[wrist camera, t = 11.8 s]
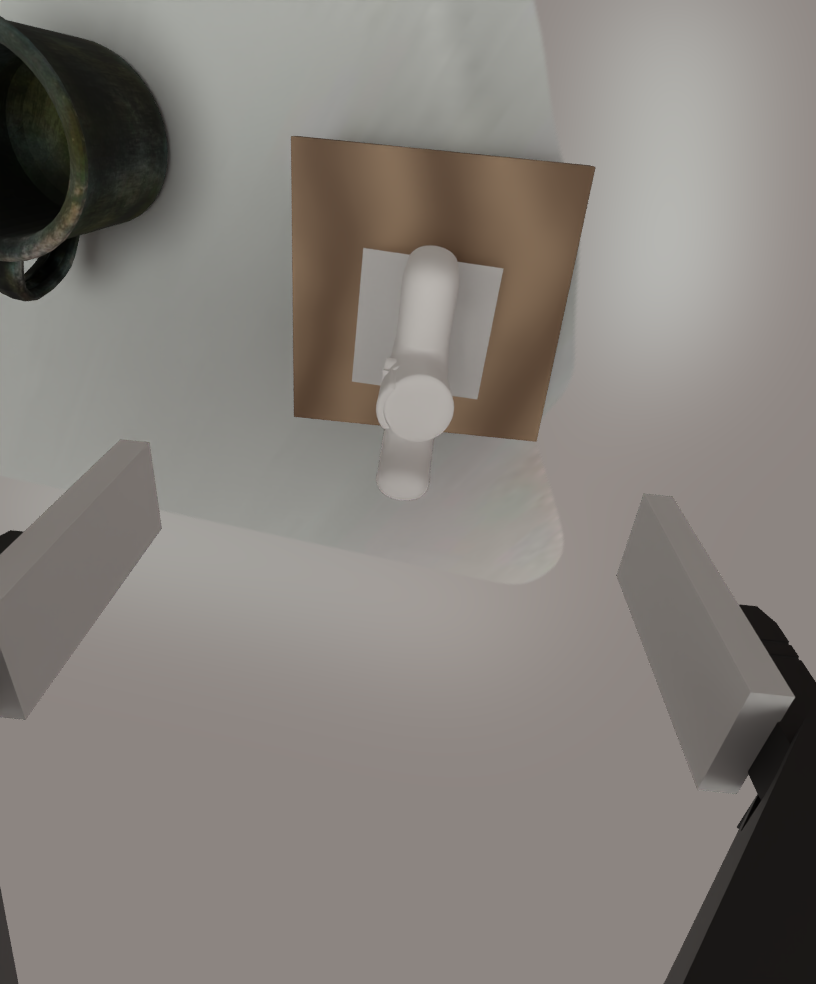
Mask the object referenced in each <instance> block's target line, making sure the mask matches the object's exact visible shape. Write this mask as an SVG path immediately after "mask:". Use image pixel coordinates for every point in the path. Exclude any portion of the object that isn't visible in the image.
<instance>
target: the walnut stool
mask: <svg viewBox="0 0 816 984" xmlns="http://www.w3.org/2000/svg"><path fill="white" fill-rule="evenodd" d="M594 172H595V167H594V166H590V165H580V164H570V163H560V162H550V161H540V160H530V159H520V158H510V157H500V156H490V155H480V154H470V153H460V152H451V151H441V150H431V149H421V148H411V147H401V146H391V145H381V144H371V143H361V142H351V141H341V140H331V139H321V138H311V137H301V136H291V177H292V272H293V367H294V417H302V418H312V419H322V420H331V421H341V422H351V423H361V424H370V425H380V423H379V421H378V418H377V414H376V404H377V399H378V395H379V390H380V385H373V384H366V383H359V382H352V374H353V362H354V351H355V339H356V327H357V316H358V304H359V293H360V281H361V269H362V258H363V248H367V249H374V250H381V251H388V252H395V253H401V254H408V255H410V254H411V253H412V252H413V251H414V250H415V249H417V248H419V247H422V246H430V245H431V246H439V247H442V248H445V249H447V250H449V251H450V252H452V253H453V254H454V256H455V257H456V259H457V262H463V263H469V264H476V265H483V266H490V267H497V268H503V273H502V278H501V283H500V288H499V293H498V298H497V303H496V308H495V313H494V318H493V323H492V328H491V333H490V338H489V343H488V348H487V353H486V358H485V363H484V368H483V373H482V378H481V383H480V388H479V393H478V398H477V399H470V398H464V397H457V396H452V397H453V401H454V413H453V417H452V420H451V422H450V424H449V425H448V427H447V428H446V429H445V430H444V431H443V432H448V433H458V434H468V435H477V436H487V437H497V438H506V439H516V440H526V441H537V436H538V432H539V427H540V422H541V418H542V413H543V409H544V404H545V399H546V395H547V390H548V385H549V381H550V376H551V371H552V367H553V362H554V357H555V353H556V348H557V343H558V339H559V334H560V330H561V325H562V320H563V316H564V311H565V306H566V302H567V297H568V292H569V288H570V283H571V278H572V274H573V269H574V265H575V260H576V255H577V251H578V246H579V241H580V237H581V232H582V227H583V223H584V218H585V213H586V209H587V204H588V199H589V194H590V190H591V185H592V181H593V176H594ZM380 426H381V425H380Z"/></svg>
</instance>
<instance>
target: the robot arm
mask: <svg viewBox="0 0 816 984" xmlns="http://www.w3.org/2000/svg"><path fill="white" fill-rule="evenodd" d="M161 529H162V528H161V520H160V513H159V506H158V499H157V492H156V485H155V478H154V471H153V464H152V457H151V450H150V443H149V442H141V441H131V440H122V439H120V440H119V441H118V442H117V443H116V444H115V445H114V446H113V447H112V448H111V449H110V450H109V451H108V452H107V453H106V454H105V455H104V456H103V457H102V458H101V459H100V460H98V461H97V462H96V463H95V464H94V465H93V466H92V467H91V468H90V469H89V470H88V471H87V472H86V473H85V474H84V475H83V476H82V477H81V478H80V479H79V480H78V481H77V482H75V483H74V484H73V485H72V486H71V487H70V488H69V489H68V490H67V491H66V492H65V493H64V494H63V495H62V496H61V497H60V498H59V499H58V500H57V501H56V502H55V503H54V504H53V505H51V506H50V507H49V508H48V509H47V511H45V512H44V513H43V514H42V515H41V516H40V517H39V518H38V519H37V520H36V521H35V522H34V523H33V524H32V525H31V526H30V527H29V528H28V529H26V530H25V531H24V532H22V531H11V530H10V531H8V532H6V533H5V534H3V535H1V536H0V717H4V718H14V719H23V720H25V719H26V718H27V717H28V715H29V714H30V713H31V711H32V710H33V709H34V707H35V706H36V704H37V703H38V702H39V700H40V699H41V697H42V696H43V695H44V693H45V692H46V690H47V689H48V688H49V686H50V685H51V683H52V682H53V680H54V679H55V678H56V676H57V675H58V673H59V672H60V671H61V669H62V668H63V666H64V665H65V664H66V662H67V661H68V659H69V658H70V657H71V655H72V654H73V652H74V651H75V650H76V648H77V647H78V645H79V644H80V642H81V641H82V639H83V638H84V637H85V635H86V634H87V633H88V631H89V630H90V628H91V627H92V626H93V624H94V623H95V621H96V620H97V619H98V617H99V616H100V614H101V613H102V612H103V610H104V609H105V607H106V606H107V605H108V603H109V601H110V600H111V599H112V597H113V596H114V595H115V593H116V592H117V590H118V589H119V588H120V586H121V584H122V583H123V582H124V581H125V579H126V577H127V576H128V575H129V573H130V572H131V571H132V569H133V568H134V566H135V565H136V564H137V562H138V561H139V559H140V558H141V557H142V555H143V554H144V552H145V551H146V550H147V548H148V547H149V545H150V544H151V543H152V541H153V540H154V538H155V537H156V536H157V534H158V533H159V531H160V530H161ZM616 576H617V578H618V581H619V584H620V586H621V589H622V592H623V594H624V597H625V600H626V602H627V605H628V607H629V610H630V613H631V615H632V618H633V621H634V623H635V626H636V629H637V631H638V634H639V636H640V639H641V642H642V645H643V647H644V650H645V652H646V655H647V658H648V660H649V663H650V666H651V668H652V671H653V673H654V676H655V679H656V682H657V684H658V686H659V689H660V692H661V695H662V697H663V700H664V703H665V705H666V708H667V711H668V713H669V716H670V719H671V721H672V724H673V727H674V729H675V731H676V734H677V737H678V739H679V742H680V745H681V748H682V750H683V753H684V756H685V758H686V761H687V763H688V766H689V769H690V771H691V774H692V777H693V779H694V782H695V785H696V787H697V790H703V791H713V792H723V793H732V794H737V793H738V791H739V789H740V788H741V786H742V784H743V783H744V781H745V779H746V778H747V776H748V774H749V776H750V778H751V780H752V782H753V785H754V787H755V789H756V791H757V793H758V794H757V796H756V798H755V799H754V801H753V802H752V804H751V805H750V807H749V809H748V810H747V812H746V813H745V815H744V816H743V818H742V820H741V821H740V823H739V824H738V826H737V828H739V830H738V833H737V835H736V837H735V839H734V841H733V843H732V845H731V847H730V849H729V851H728V853H727V855H726V857H725V859H724V861H723V863H722V865H721V867H720V870H719V872H718V874H717V876H716V878H715V880H714V882H713V884H712V886H711V888H710V890H709V892H708V894H707V896H706V898H705V900H704V902H703V904H702V907H701V909H700V911H699V913H698V915H697V917H696V919H695V921H694V923H693V925H692V927H691V929H690V931H689V933H688V935H687V937H686V939H685V941H684V943H683V946H682V948H681V950H680V952H679V954H678V956H677V958H676V960H675V962H674V964H673V966H672V968H671V970H670V972H669V974H668V976H667V979H666V981H665V983H664V984H816V682H815V680H814V679H813V677H812V676H811V675H810V673H809V671H808V670H807V668H806V667H805V665H804V664H803V662H802V661H801V660H799V659H798V657H799V656H798V655H797V653H796V652H795V650H794V649H793V647H792V646H791V645H789V644H788V643H789V641H788V640H787V638H786V637H785V635H784V634H783V632H782V631H781V629H780V628H779V626H778V625H777V623H776V622H775V621H773V620H772V619H771V618H770V617H769V616H767V615H766V614H765V613H764V612H763V611H762V610H760V609H759V608H758V607H756V606H748V605H739V604H738V603H737V601H736V600H735V598H734V596H733V595H732V593H731V591H730V590H729V588H728V586H727V585H726V583H725V582H724V580H723V578H722V577H721V575H720V573H719V572H718V570H717V568H716V567H715V565H714V564H713V562H712V561H711V559H710V557H709V555H708V554H707V552H706V550H705V549H704V547H703V546H702V544H701V542H700V541H699V539H698V537H697V536H696V534H695V532H694V531H693V529H692V527H691V526H690V524H689V523H688V521H687V519H686V518H685V516H684V514H683V513H682V511H681V509H680V508H679V506H678V505H677V503H676V501H675V500H674V498H673V497H672V496H661V495H652V494H643V497H642V500H641V503H640V507H639V510H638V513H637V515H636V519H635V521H634V524H633V527H632V530H631V534H630V536H629V539H628V542H627V546H626V549H625V551H624V554H623V557H622V560H621V563H620V566H619V569H618V572H617V575H616ZM0 984H18V979H17V974H16V968H15V963H14V958H13V953H12V947H11V942H10V937H9V931H8V926H7V921H6V916H5V910H4V905H3V900H2V894H1V889H0Z"/></svg>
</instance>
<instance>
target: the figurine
mask: <svg viewBox="0 0 816 984" xmlns="http://www.w3.org/2000/svg"><path fill="white" fill-rule="evenodd" d="M502 273H503V268H497V267H490V266H483V265H476V264H469V263H463V262H457V259H456V257H455V256H454V254H453V253H452V252H450V251H449V250H447V249H445V248H442V247H439V246H431V245H430V246H422V247H419V248H417V249H415V250H414V251H413V252H412V253H411V254H410V255H408V254H401V253H395V252H388V251H381V250H374V249H367V248H363V258H362V269H361V281H360V293H359V304H358V316H357V327H356V339H355V351H354V362H353V374H352V382H359V383H366V384H373V385H380V390H379V395H378V399H377V404H376V414H377V418H378V421H379V423H380V425H381V427H382V428H384V429H385V430H384V435H383V440H382V446H381V454H380V460H379V466H378V471H377V476H376V481H377V485H378V488H379V489H380V491H381V492H382V493H383V494H385V495H386V496H388V497H390V498H393V499H397V500H404V501H407V500H415V499H418V498H420V497H421V496H423V495H424V494H425V492H426V491H427V489H428V486H429V480H430V467H431V459H432V451H433V441H434V438H435V437H437V436H438V435H440V434H441V433H442V432H443V431H444V430H445V429H446V428H447V427H448V425H449V424H450V422H451V420H452V417H453V413H454V401H453V397H452V396H457V397H464V398H470V399H477V398H478V393H479V388H480V383H481V378H482V373H483V368H484V363H485V358H486V353H487V348H488V343H489V338H490V333H491V328H492V323H493V318H494V313H495V308H496V303H497V298H498V293H499V288H500V283H501V278H502Z"/></svg>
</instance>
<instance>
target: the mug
mask: <svg viewBox="0 0 816 984" xmlns="http://www.w3.org/2000/svg"><path fill="white" fill-rule="evenodd" d="M166 168H167V141H166V134H165V130H164V125H163V121H162V118H161V116H160V113H159V110H158V107H157V105H156V103H155V101H154V99H153V97H152V95H151V93H150V91H149V90H148V88H147V87H146V85H145V84H144V82H143V81H142V79H141V78H140V77H139V76H138V75H137V73H136V72H135V71H134V70H133V69H132V68H131V67H130V66H129V65H128V64H127V63H126V62H125V61H124V60H123V59H122V58H121V57H119V56H118V55H116V54H115V53H113V52H112V51H111V50H109V49H108V48H106V47H104V46H102V45H99V44H97V43H95V42H93V41H89V40H86V39H82V38H78V37H74V36H70V35H66V34H62V33H57V32H53V31H49V30H45V29H41V28H37V27H33V26H28V25H24V24H20V23H16V22H12V21H8V20H5V19H4V18H2V17H1V16H0V292H1V293H3V294H5V295H7V296H9V297H11V298H13V299H17V300H22V301H32V300H38V299H40V298H41V297H43V296H44V295H46V294H47V293H49V292H50V291H51V290H53V289H54V288H55V287H56V286H57V285H58V284H59V283H60V282H61V281H62V279H63V278H64V277H65V276H66V274H67V273H68V271H69V269H70V268H71V266H72V263H73V260H74V258H75V254H76V250H77V246H78V241H79V236H80V235H82V234H86V233H89V232H93V231H96V230H100V229H103V228H106V227H110V226H113V225H117V224H120V223H124V222H127V221H130V220H132V219H134V218H136V217H138V216H139V215H141V214H142V213H143V212H144V211H146V210H147V209H148V208H149V207H150V205H151V204H152V203H153V202H154V200H155V199H156V197H157V195H158V193H159V192H160V190H161V187H162V184H163V181H164V178H165V173H166ZM38 257H39V258H38ZM34 258H38V259H37V261H36V262H35V264H34V265H33V266H32V267H31V268H30V269H29V270H28V271H27V272H26V273H25V274H24V261H27V260H31V259H34Z"/></svg>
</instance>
